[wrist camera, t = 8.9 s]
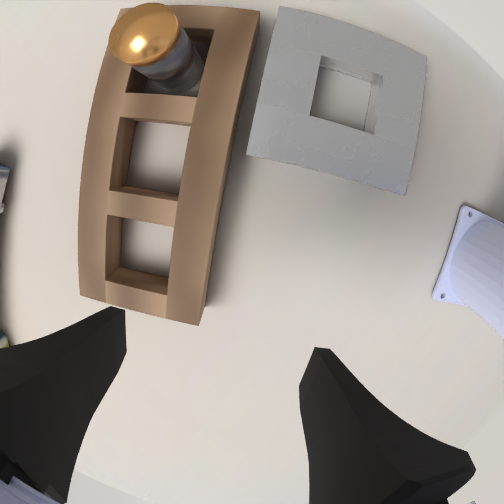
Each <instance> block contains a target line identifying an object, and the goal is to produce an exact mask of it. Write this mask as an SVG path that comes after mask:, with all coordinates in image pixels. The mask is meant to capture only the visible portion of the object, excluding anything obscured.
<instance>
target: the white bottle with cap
mask: <svg viewBox="0 0 504 504" xmlns="http://www.w3.org/2000/svg"><path fill="white" fill-rule="evenodd" d="M9 172H10V168H9V167H7V166H5V165H3V164H1V163H0V213H3V209H4V203H3V202H2V200H3V195H4V191H5V187H6V183H7V179H8V175H9ZM7 340H8V339H7V337H6V336H5V334H4V333H3V331H2V330H1V329H0V348H4V347H9V344H8V341H7Z"/></svg>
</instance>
